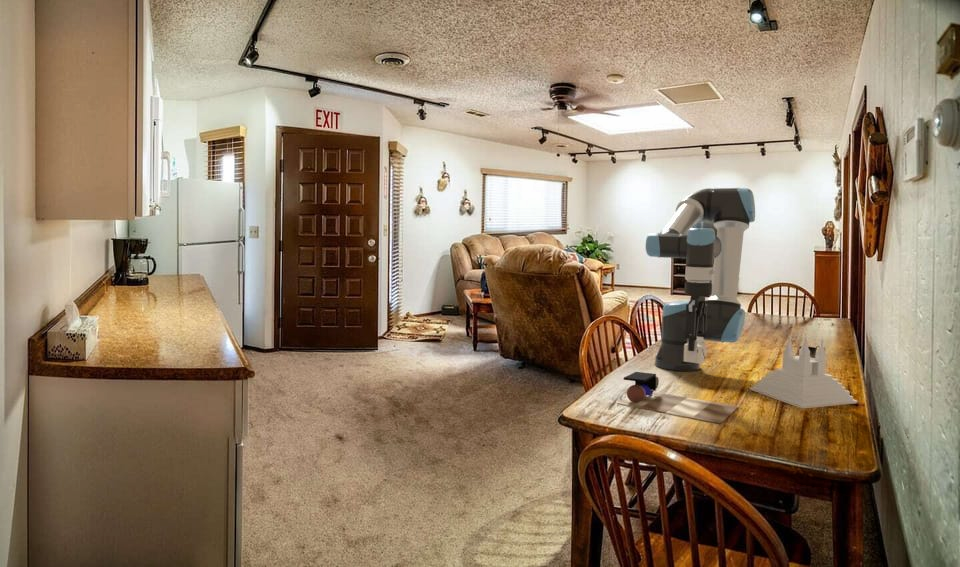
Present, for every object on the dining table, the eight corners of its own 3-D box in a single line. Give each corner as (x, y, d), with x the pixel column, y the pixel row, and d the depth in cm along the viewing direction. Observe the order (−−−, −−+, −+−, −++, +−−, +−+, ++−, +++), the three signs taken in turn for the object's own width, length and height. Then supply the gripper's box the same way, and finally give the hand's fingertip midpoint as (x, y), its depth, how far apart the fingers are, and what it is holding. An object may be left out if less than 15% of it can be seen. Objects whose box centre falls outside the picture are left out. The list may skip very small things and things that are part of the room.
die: (688, 358, 186) (689, 341, 186) (705, 360, 183) (706, 343, 183) (683, 361, 182) (684, 344, 182) (701, 363, 179) (701, 346, 179)
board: (640, 390, 188) (640, 389, 188) (738, 407, 171) (738, 406, 171) (616, 403, 173) (616, 402, 173) (720, 424, 157) (720, 423, 157)
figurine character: (636, 395, 186) (620, 401, 173) (637, 369, 186) (622, 374, 173) (658, 398, 183) (645, 405, 170) (660, 372, 183) (647, 377, 170)
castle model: (801, 409, 172) (806, 344, 170) (750, 390, 191) (753, 331, 189) (856, 404, 178) (861, 341, 176) (801, 386, 197) (805, 329, 195)
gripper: (702, 284, 171) (698, 367, 173) (720, 280, 185) (716, 356, 188) (675, 282, 175) (671, 363, 178) (695, 278, 190) (691, 353, 192)
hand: (694, 359), depth 183 cm, fingers closed on die, 5 cm apart
